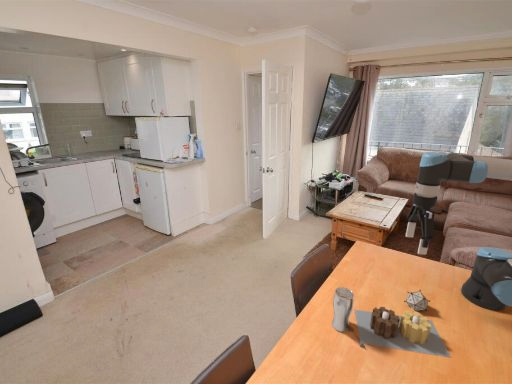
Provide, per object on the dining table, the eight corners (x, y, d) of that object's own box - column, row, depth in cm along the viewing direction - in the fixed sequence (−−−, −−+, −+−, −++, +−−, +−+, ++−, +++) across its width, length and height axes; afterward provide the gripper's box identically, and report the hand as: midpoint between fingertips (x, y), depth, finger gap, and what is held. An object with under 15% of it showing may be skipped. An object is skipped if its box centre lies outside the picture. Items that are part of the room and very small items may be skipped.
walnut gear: (392, 321, 100) (395, 308, 99) (400, 341, 92) (403, 327, 90) (367, 317, 102) (369, 305, 100) (372, 336, 94) (375, 323, 92)
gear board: (430, 323, 101) (435, 305, 99) (450, 361, 87) (456, 341, 84) (353, 312, 107) (356, 295, 104) (360, 346, 92) (363, 327, 89)
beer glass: (337, 335, 96) (341, 301, 92) (327, 320, 103) (330, 288, 98) (353, 330, 98) (358, 297, 93) (343, 317, 105) (347, 285, 100)
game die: (418, 319, 108) (436, 314, 100) (399, 310, 109) (415, 304, 101) (418, 298, 114) (435, 291, 106) (399, 289, 114) (415, 282, 106)
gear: (414, 321, 100) (417, 309, 98) (433, 341, 92) (437, 328, 90) (393, 325, 99) (395, 312, 97) (411, 346, 90) (414, 332, 88)
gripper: (404, 184, 111) (395, 230, 117) (428, 205, 88) (416, 261, 94) (423, 185, 109) (414, 231, 116) (453, 207, 86) (439, 263, 93)
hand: (415, 244), depth 105 cm, fingers open, 13 cm apart
